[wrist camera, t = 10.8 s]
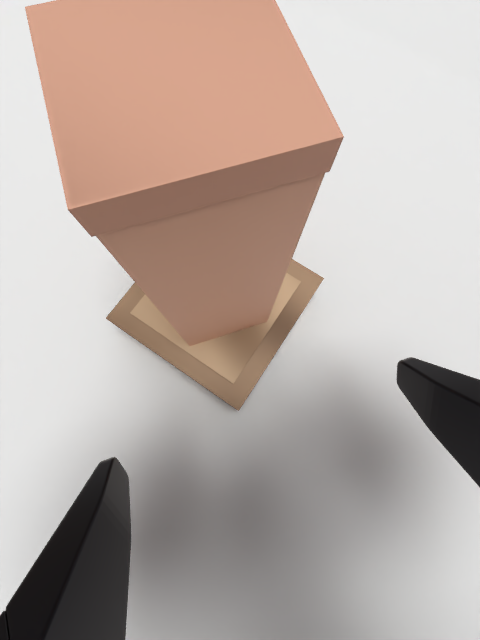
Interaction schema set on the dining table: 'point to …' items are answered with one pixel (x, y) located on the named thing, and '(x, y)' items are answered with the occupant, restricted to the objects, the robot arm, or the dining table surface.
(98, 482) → the robot arm
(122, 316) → the base block
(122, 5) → the terracotta block
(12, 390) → the dining table surface
